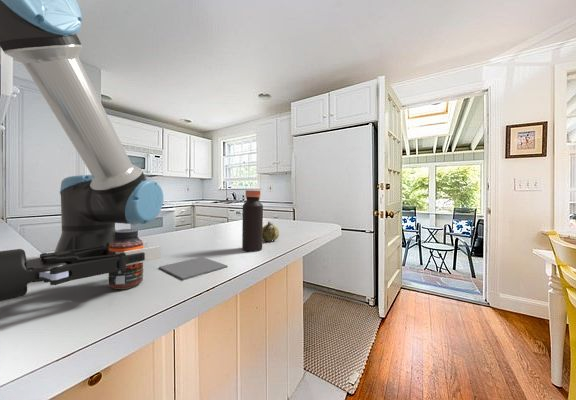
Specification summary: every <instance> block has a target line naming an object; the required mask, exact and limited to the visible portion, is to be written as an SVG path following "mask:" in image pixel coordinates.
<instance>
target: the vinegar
mask: <svg viewBox="0 0 576 400" xmlns="http://www.w3.org/2000/svg"><path fill="white" fill-rule="evenodd" d="M260 198H261V190H245V199H246V201H245V202H244V203H243V204H242V223H241V224H242V230H241V231H242V233H241V234H242V235H241V236H242V237H241V239H242V242H241V243H242V246H241V248H242V250H243V251H244V250H245V251H244V252H250V251H253V252H259V251H258V250H260V251H262V250H263V239H262V234H263V227H264V225H263V223H264V221H263V220H264V219H263V217H264V215H263V214H264V211H263V210H264V205H263V204H262V203H261V201H260Z"/></svg>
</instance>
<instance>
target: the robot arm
mask: <svg viewBox="0 0 576 400" xmlns="http://www.w3.org/2000/svg"><path fill="white" fill-rule="evenodd" d="M82 21H83V16H82V11H81V9H80V6H79V3H78V0H0V48H1V50H2V51H3V53H4V54H5V55H7V56H9V57H11V58H13V59H15V60H17V61H19V62H20V63H21V64H22V65H23V66H24V68H25V69H26V70H27V73H28V74H29V76H30V78H31V79H32V81H33V82H34V83H35V85H36V87H37V89H38V90H39V91H40V93H41V94H42V97H43V98H44V100H45V102H46V103H47V105H48V106H49V109H51V111H52V113H53V114H54V116H55V117H56V119H57V121H58V122H59V125H60V126H61V128H62V129H63V131H64V132H65V134H66V135H67V137H68V139H69V141H71V143H72V145H73V147H74V148H75V149H76V152H77V153H78V154H79V156H80V158H81V160H82V161H83V163H84V165H85V166H86V168H87V169H88V171H89V173H90V174H82V175H81V174H80V175H71V176H67V177H65V178H63V179H62V180H61V182H60V191H59V195H60V213H61V217H60V218H61V219H60V221H61V234H60V237H59V240H58V241H57V245H56V246H55V250H54V252H43V253H40V254H39V257H38V258H33V259H29V260H27V256H26V255H27V254H26V251H25V250H24V249H22V248H17V249H9V250H8V249H7V250H1V251H0V302H4V301H8V300H13V299H16V298H22V297H24V296H26V294H27V292H28V285H29V284H32V283H38V282H43V283H49V285H50V286H57V285H60V284H65V283H66V282H67V283H68V282H72V281H76V280H81V279H86V278H90V277H91V278H92V277H96V276H101V275H106V274H109V273H111V272H116V271H125V270H126V266H128V265H133V264H137V263H142V262H143V263H147V262H151V261H156V260H160V259H161V246H160V245H157V246H156V245H154V246H149V247H148V241H147V240H145V241H142V242H143V248H142V249H136V250H130V251H124V253H120V254H112V255H109V244H110V243H111V242H112V241H113V240H114V239H115V237H114V236H115V231H116V224H124V225H125V224H126V225H127V224H129V225H143V224H144V225H145V224H148V223H151V222H153V221H154V220H155V219H156V218H157V217H158V216H159V215H160V212H161V211H162V209H163V208H162V207H163V204H164V192H163V189H162V186H160V184H159V183H158V182H156V181H154V180H151V179H147V178H146V176H145V174H144V171H143V170H142V168H141V167H139V166H137V165H134V164H133V163H132V162H131V159H130V158H129V155H128V153H127V152H126V150H125V148H124V146H123V143H122V141H121V140H120V138H119V135H118V134H117V132H116V130H115V127H114V126H113V124H112V122H111V120H110V118H109V116H108V113H107V112H106V109H105V107H104V106H103V104H102V102H101V100H100V97H99V96H98V94H97V92H96V90H95V88H94V86H93V84H92V82H91V80H90V78H89V76H88V74H87V72H86V70H85V68H84V66H83V64H82V62H81V60H80V58H79V57H80V53H82V52H81V51H82V49H83V45H82V43H81V40H80V39H79V36H78V34H77V33H78V32H79V30H80V29H81V27H82V23H81V22H82Z"/></svg>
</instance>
